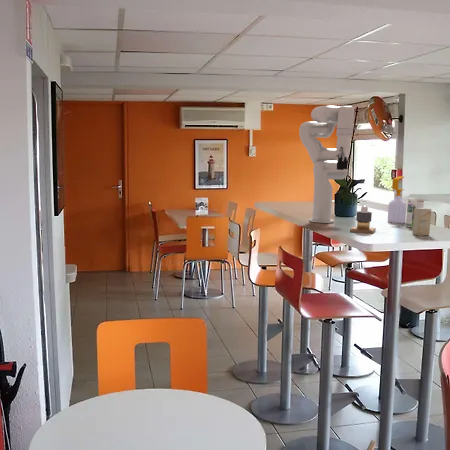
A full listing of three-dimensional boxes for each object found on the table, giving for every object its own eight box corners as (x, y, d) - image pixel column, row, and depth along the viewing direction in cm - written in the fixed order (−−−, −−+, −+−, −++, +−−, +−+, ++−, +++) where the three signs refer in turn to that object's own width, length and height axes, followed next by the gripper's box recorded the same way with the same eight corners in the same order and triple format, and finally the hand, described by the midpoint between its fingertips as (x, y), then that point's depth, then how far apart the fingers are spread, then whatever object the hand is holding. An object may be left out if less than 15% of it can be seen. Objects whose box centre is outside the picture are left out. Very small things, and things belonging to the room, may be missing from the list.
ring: (357, 219, 260) (358, 211, 260) (371, 220, 258) (372, 212, 257) (355, 220, 254) (355, 212, 254) (369, 222, 252) (370, 213, 251)
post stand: (353, 229, 263) (355, 204, 261) (375, 231, 259) (377, 205, 258) (350, 231, 254) (351, 205, 252) (372, 233, 250) (374, 207, 249)
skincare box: (417, 235, 249) (419, 208, 247) (411, 234, 253) (413, 207, 251) (429, 235, 251) (432, 208, 249) (423, 234, 255) (425, 207, 253)
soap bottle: (408, 223, 297) (412, 176, 294) (396, 223, 293) (399, 176, 289) (396, 220, 305) (399, 176, 302) (383, 221, 301) (387, 175, 297)
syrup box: (405, 226, 281) (407, 197, 279) (414, 226, 283) (416, 198, 281) (412, 228, 276) (414, 198, 274) (422, 227, 278) (424, 199, 276)
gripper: (339, 133, 271) (337, 168, 273) (332, 132, 255) (330, 169, 258) (355, 133, 268) (352, 169, 271) (349, 132, 252) (346, 170, 255)
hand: (341, 169), depth 264 cm, fingers open, 9 cm apart
